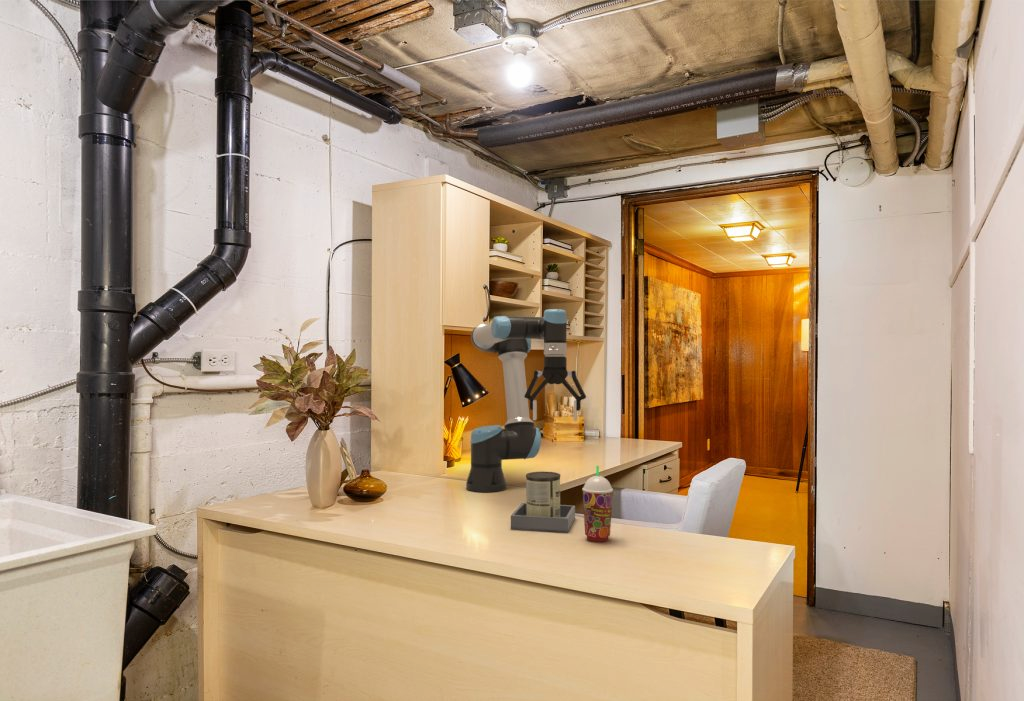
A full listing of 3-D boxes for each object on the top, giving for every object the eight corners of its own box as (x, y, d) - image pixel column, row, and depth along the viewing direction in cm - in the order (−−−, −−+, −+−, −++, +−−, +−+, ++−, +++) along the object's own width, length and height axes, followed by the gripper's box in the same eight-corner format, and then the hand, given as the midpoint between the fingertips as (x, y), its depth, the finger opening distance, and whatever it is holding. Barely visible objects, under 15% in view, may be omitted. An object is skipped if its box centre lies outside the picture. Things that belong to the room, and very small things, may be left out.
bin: (522, 515, 205) (522, 503, 205) (575, 518, 201) (575, 505, 201) (510, 529, 189) (510, 515, 189) (568, 532, 185) (568, 518, 185)
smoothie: (593, 545, 173) (593, 469, 173) (576, 537, 181) (576, 464, 181) (619, 541, 177) (619, 466, 177) (601, 533, 184) (601, 462, 185)
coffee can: (527, 517, 201) (527, 471, 201) (560, 518, 200) (560, 471, 200) (524, 525, 191) (524, 477, 191) (560, 526, 190) (560, 477, 190)
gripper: (515, 356, 216) (515, 420, 216) (591, 356, 211) (591, 422, 211) (520, 356, 223) (520, 418, 223) (594, 356, 218) (594, 420, 218)
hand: (555, 420), depth 217 cm, fingers open, 13 cm apart
